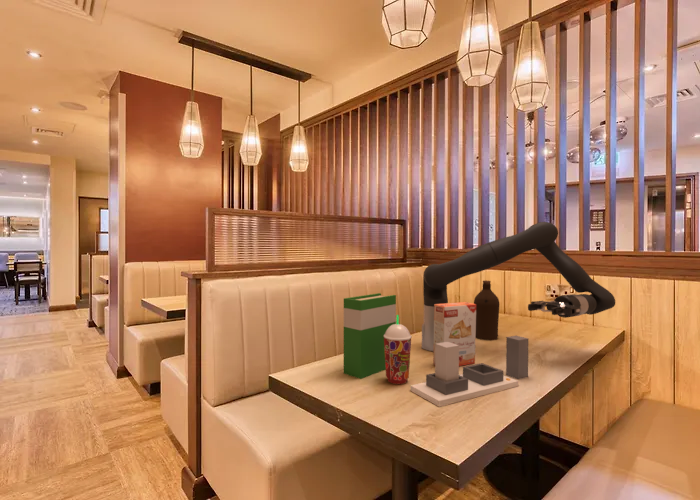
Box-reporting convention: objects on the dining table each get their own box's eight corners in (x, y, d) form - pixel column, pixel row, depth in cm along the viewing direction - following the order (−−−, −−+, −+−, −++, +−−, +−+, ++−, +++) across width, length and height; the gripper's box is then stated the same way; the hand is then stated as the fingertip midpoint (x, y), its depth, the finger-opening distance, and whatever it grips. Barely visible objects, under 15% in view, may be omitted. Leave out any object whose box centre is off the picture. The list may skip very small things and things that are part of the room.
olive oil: (504, 340, 164) (504, 281, 164) (480, 341, 162) (481, 282, 162) (491, 334, 175) (491, 279, 174) (469, 335, 173) (469, 279, 172)
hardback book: (378, 361, 135) (379, 293, 135) (395, 365, 130) (395, 295, 130) (343, 373, 123) (343, 298, 122) (360, 379, 117) (360, 300, 117)
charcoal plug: (506, 374, 121) (506, 337, 121) (515, 372, 123) (516, 335, 123) (518, 379, 117) (518, 340, 117) (528, 376, 119) (528, 338, 119)
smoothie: (404, 388, 110) (404, 318, 110) (378, 382, 114) (378, 315, 114) (415, 379, 117) (415, 314, 117) (390, 374, 122) (391, 311, 121)
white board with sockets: (410, 390, 108) (410, 343, 108) (486, 373, 122) (486, 331, 122) (439, 406, 98) (439, 354, 97) (518, 385, 112) (518, 339, 112)
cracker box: (444, 369, 126) (444, 306, 126) (432, 364, 131) (432, 303, 131) (476, 364, 132) (477, 303, 132) (464, 359, 137) (464, 301, 137)
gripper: (551, 292, 139) (521, 295, 131) (592, 297, 127) (561, 301, 119) (551, 313, 139) (521, 317, 132) (591, 320, 127) (561, 325, 119)
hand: (540, 309), depth 125 cm, fingers open, 8 cm apart
